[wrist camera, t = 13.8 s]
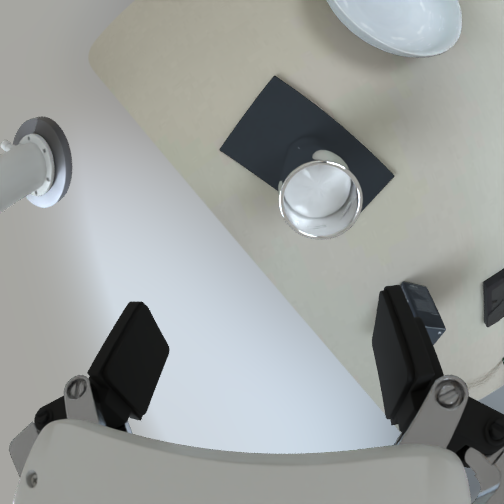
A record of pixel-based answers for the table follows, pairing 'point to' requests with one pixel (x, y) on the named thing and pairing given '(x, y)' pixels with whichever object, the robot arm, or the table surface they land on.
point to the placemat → (292, 128)
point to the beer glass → (318, 190)
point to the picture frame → (494, 298)
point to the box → (424, 309)
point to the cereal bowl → (403, 24)
